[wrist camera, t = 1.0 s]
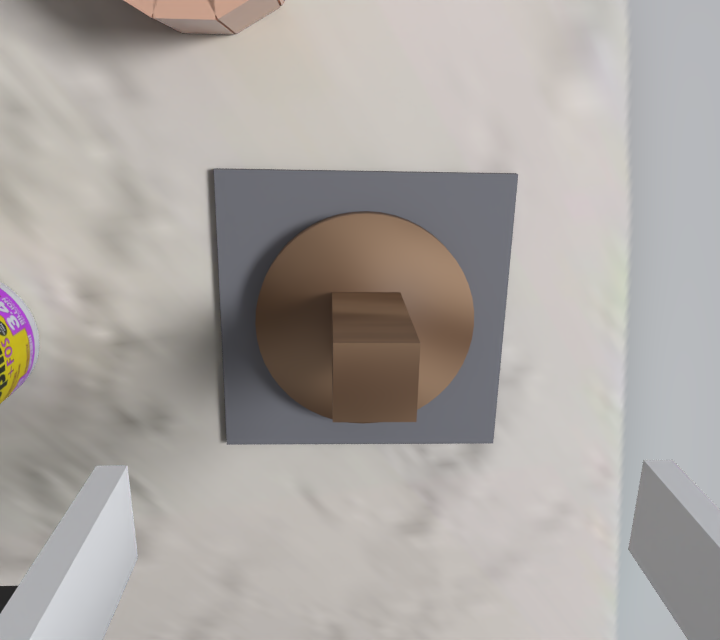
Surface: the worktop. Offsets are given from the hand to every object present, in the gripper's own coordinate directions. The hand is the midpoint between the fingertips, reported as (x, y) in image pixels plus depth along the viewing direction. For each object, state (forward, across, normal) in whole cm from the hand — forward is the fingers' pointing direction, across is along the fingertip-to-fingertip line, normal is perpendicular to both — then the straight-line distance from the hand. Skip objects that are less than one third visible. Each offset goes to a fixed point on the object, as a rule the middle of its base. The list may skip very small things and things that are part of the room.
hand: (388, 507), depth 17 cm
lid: (+16, 0, 0) cm, 16 cm away
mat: (+17, 0, 0) cm, 17 cm away
